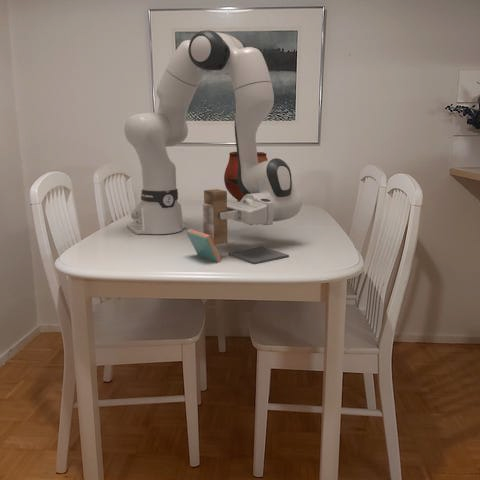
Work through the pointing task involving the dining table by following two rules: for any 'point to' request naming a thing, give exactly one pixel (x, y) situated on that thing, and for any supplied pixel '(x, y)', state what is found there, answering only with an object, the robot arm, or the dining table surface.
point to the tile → (204, 245)
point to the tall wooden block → (215, 215)
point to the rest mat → (258, 255)
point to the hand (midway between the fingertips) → (212, 214)
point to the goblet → (232, 174)
